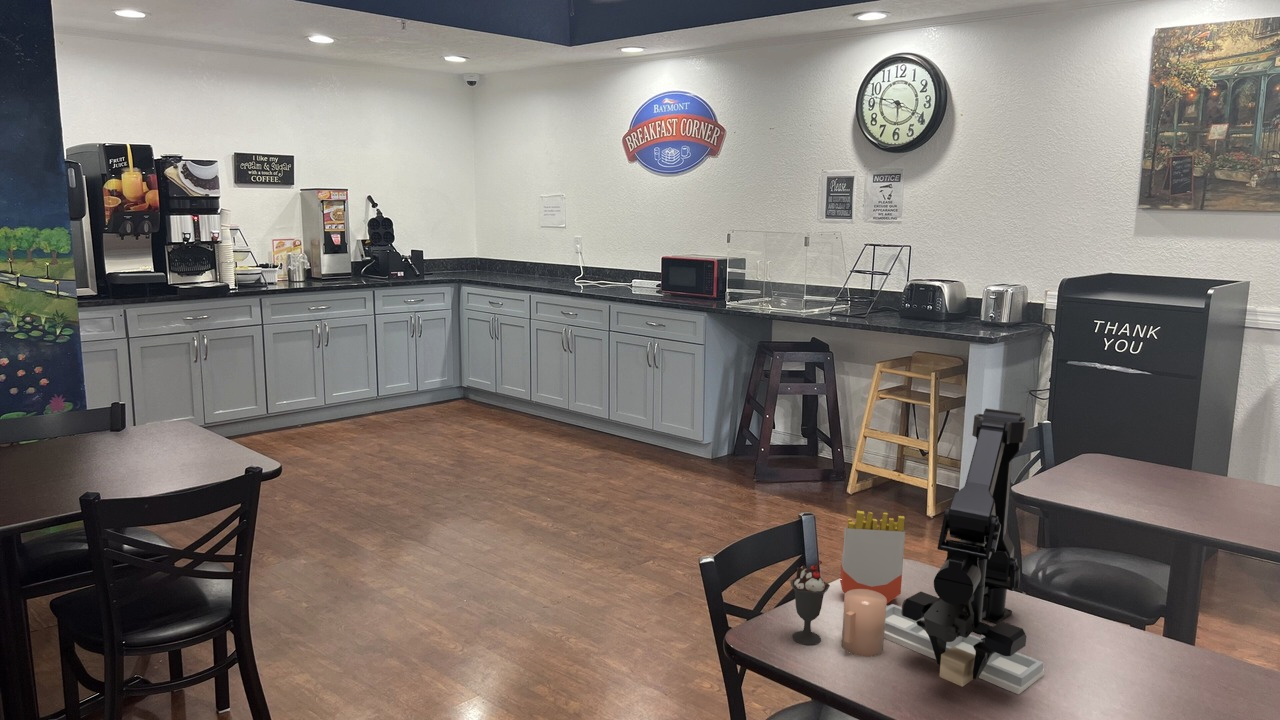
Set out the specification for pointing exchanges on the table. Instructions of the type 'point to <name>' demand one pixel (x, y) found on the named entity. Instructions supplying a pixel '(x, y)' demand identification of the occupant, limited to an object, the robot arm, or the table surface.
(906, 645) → the board
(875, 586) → the french fries container
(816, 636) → the sundae
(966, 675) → the beech block
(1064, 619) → the table surface
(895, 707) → the table surface
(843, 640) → the terracotta mug
